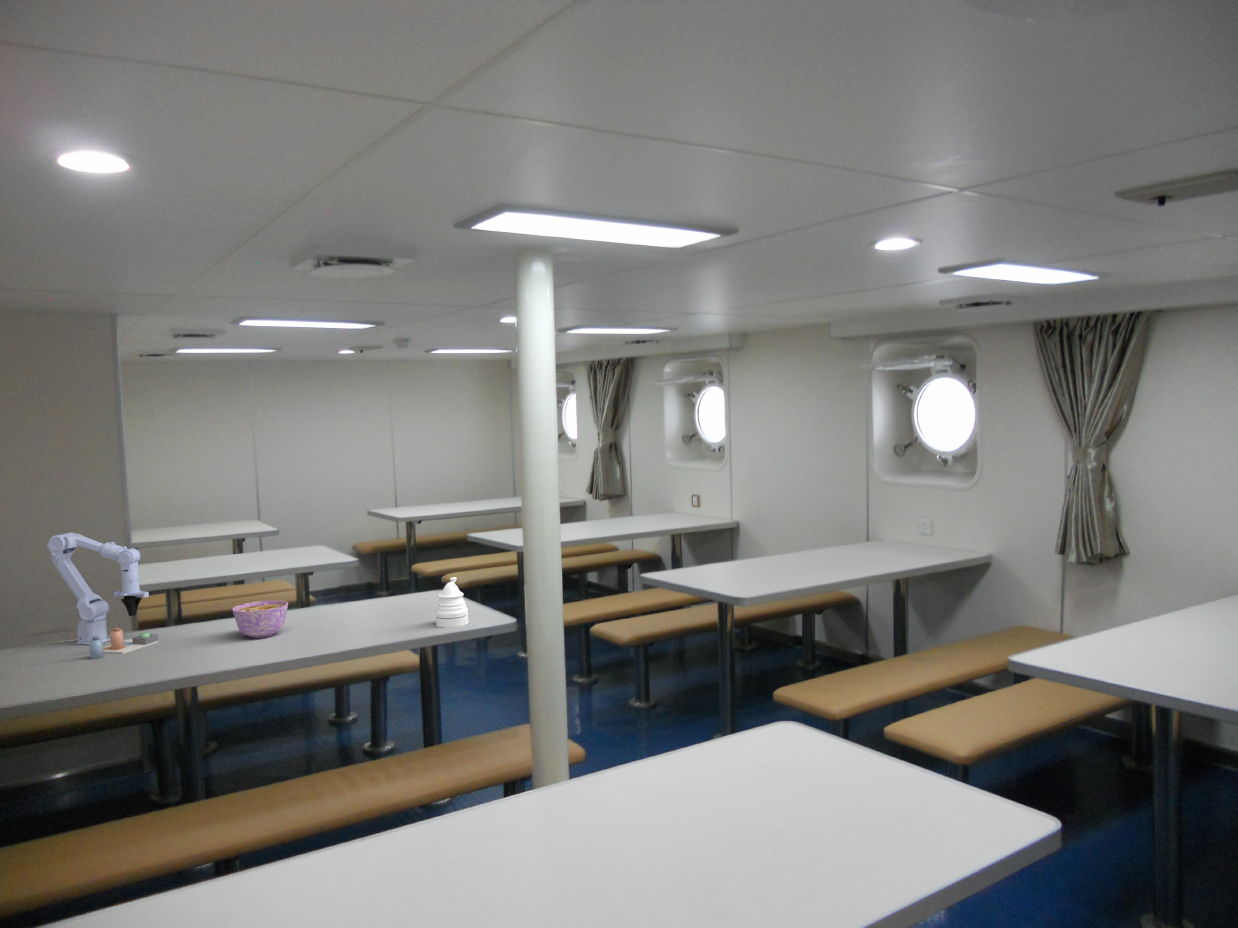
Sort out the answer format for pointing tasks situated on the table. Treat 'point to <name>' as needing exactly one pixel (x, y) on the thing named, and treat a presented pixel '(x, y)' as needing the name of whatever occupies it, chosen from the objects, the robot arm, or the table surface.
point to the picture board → (133, 644)
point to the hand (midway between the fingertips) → (132, 615)
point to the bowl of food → (260, 617)
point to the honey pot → (451, 607)
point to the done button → (145, 634)
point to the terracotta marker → (117, 639)
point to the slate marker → (96, 648)
